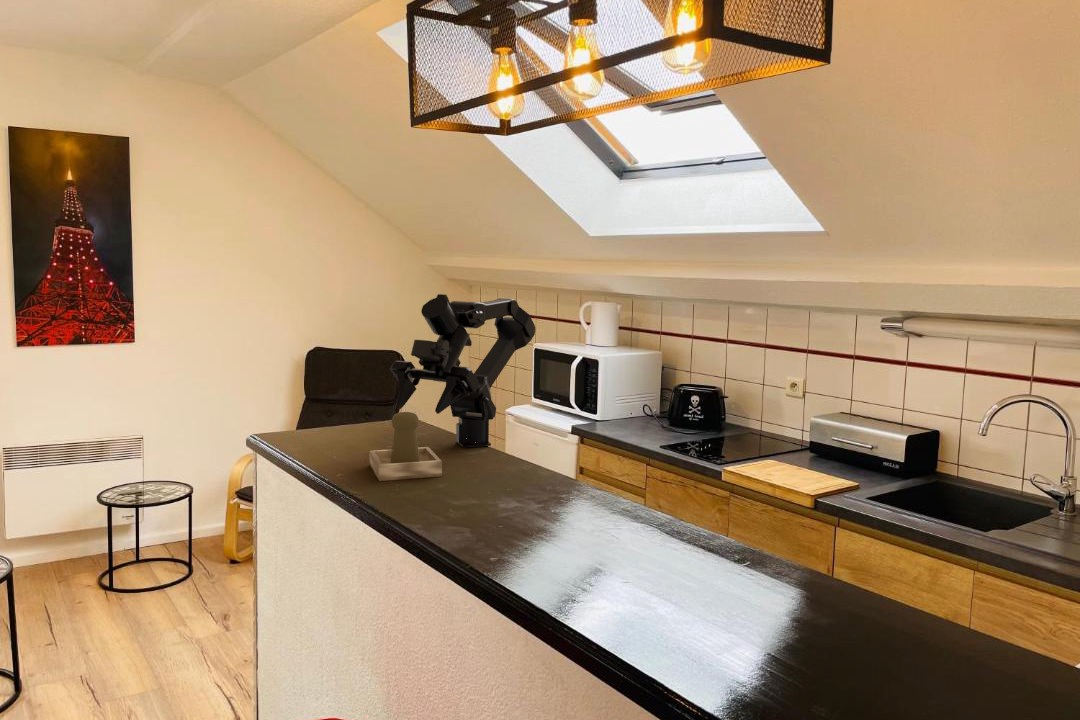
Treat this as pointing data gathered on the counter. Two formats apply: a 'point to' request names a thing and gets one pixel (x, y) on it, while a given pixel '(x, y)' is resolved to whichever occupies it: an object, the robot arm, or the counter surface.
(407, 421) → the olive pepper mill
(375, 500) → the counter surface
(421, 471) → the birch tray
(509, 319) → the robot arm
